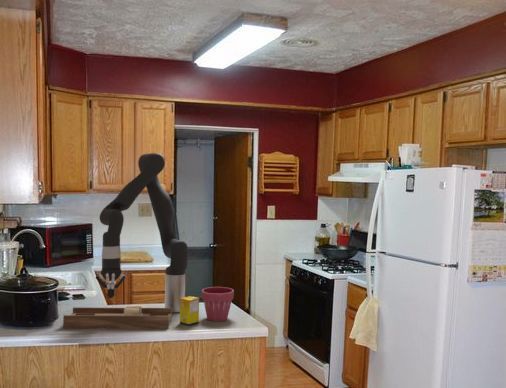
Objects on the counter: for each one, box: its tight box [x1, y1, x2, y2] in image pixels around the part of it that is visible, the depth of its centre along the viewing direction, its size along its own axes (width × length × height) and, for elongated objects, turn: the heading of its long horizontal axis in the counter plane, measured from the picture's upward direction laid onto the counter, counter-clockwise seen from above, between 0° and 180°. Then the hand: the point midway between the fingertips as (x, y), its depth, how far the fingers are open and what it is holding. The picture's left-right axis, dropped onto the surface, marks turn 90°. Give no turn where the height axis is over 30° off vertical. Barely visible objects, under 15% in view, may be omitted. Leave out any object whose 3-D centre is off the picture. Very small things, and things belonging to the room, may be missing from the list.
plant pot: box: [201, 286, 235, 322], centre depth 218 cm, size 14×14×13 cm
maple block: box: [124, 305, 142, 316], centre depth 205 cm, size 6×6×4 cm
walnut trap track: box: [62, 306, 173, 330], centre depth 205 cm, size 14×42×5 cm, turn 94°
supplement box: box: [179, 295, 200, 327], centre depth 209 cm, size 6×6×11 cm
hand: (111, 297), depth 205 cm, fingers closed
